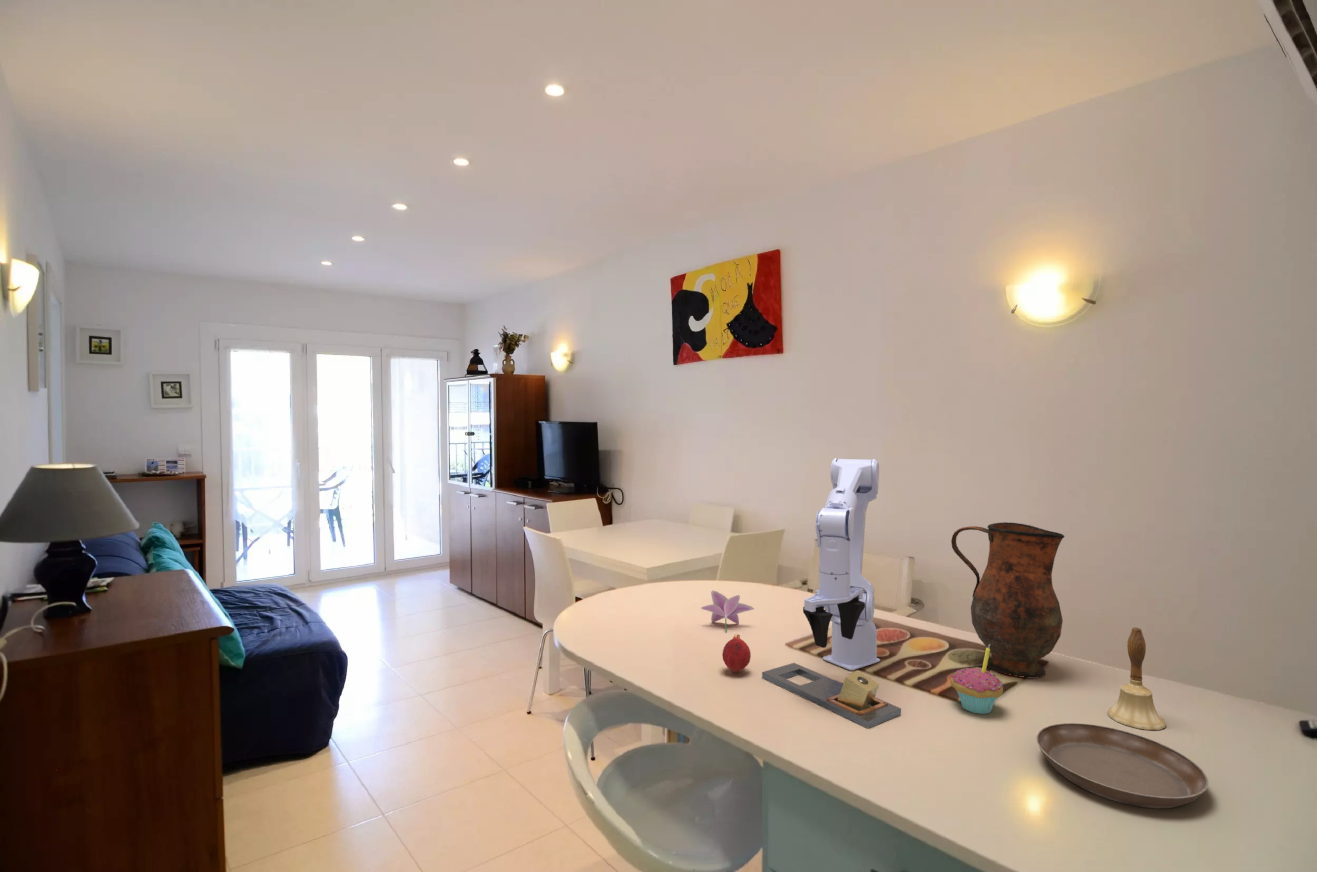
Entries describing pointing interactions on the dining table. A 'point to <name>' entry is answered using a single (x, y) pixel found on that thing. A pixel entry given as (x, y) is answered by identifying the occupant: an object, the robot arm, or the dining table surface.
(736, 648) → the pomegranate
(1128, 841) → the dining table surface
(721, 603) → the lily
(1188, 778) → the plant saucer
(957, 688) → the cupcake
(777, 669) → the rail
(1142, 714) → the hand bell
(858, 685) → the brass cube with hole
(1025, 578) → the pitcher
